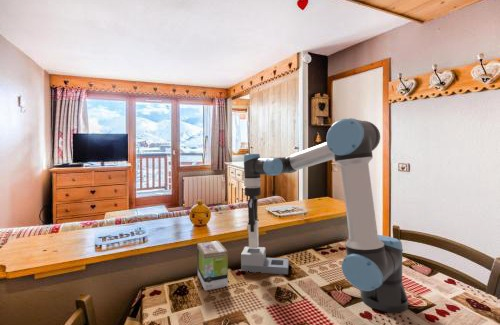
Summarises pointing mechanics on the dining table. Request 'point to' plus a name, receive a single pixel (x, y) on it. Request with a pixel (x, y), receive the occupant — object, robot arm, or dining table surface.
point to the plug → (253, 242)
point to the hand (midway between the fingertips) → (253, 236)
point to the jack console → (262, 262)
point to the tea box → (212, 265)
